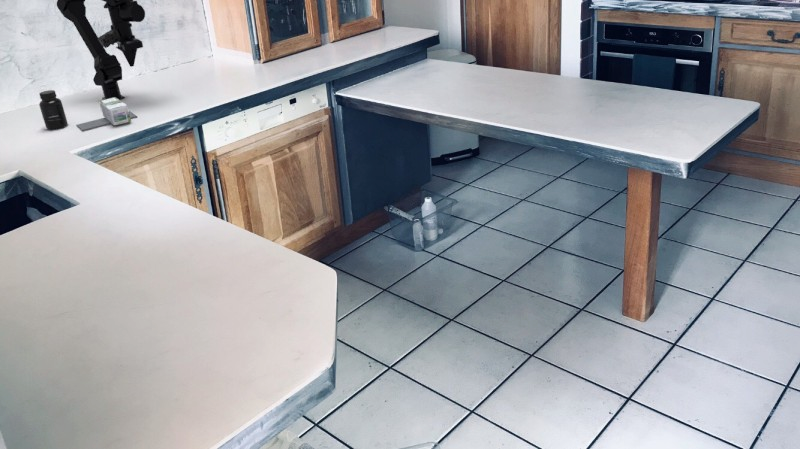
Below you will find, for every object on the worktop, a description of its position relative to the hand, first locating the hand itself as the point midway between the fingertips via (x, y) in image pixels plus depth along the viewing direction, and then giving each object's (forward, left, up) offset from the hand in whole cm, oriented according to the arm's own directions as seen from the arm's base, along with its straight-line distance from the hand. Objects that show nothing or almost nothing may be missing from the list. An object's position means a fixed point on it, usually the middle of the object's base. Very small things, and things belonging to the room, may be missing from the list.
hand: (132, 66), depth 257 cm
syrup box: (+9, -13, -10) cm, 18 cm away
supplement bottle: (+5, -30, -13) cm, 33 cm away
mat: (+14, -16, -13) cm, 25 cm away
